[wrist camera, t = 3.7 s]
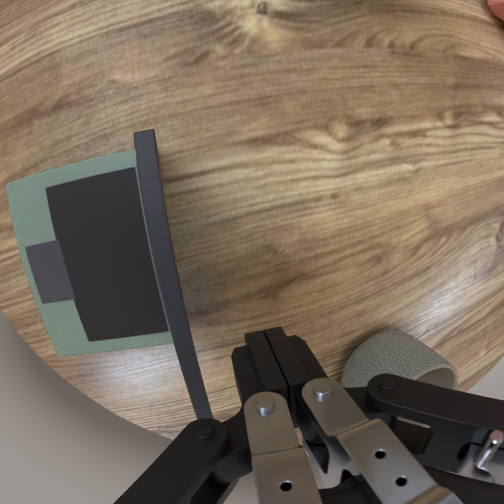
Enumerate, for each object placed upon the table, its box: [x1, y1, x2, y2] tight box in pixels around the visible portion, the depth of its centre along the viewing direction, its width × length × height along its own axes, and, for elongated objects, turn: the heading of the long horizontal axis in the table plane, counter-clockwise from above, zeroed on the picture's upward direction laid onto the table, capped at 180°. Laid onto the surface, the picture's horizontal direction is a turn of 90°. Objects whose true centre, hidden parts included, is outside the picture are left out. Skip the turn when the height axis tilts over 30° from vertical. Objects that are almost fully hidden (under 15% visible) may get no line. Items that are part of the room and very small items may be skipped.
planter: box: [341, 331, 458, 428], centre depth 32 cm, size 12×12×11 cm
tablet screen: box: [133, 129, 213, 419], centre depth 20 cm, size 14×18×1 cm
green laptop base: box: [5, 149, 174, 356], centre depth 26 cm, size 14×18×2 cm
